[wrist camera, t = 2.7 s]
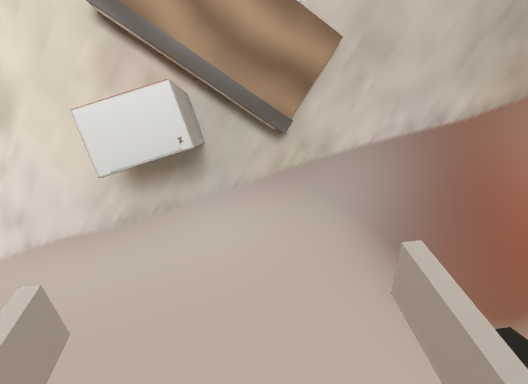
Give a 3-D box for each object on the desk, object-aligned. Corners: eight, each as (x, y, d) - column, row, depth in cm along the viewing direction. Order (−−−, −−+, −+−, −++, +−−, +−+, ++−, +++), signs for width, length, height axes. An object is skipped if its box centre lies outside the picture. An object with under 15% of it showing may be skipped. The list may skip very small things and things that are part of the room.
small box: (188, 93, 34) (171, 76, 24) (205, 143, 35) (196, 147, 25) (115, 115, 34) (66, 108, 24) (135, 165, 35) (97, 179, 25)
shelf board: (159, -100, 31) (150, -131, 27) (338, 39, 35) (351, 29, 31) (96, 12, 32) (79, -4, 28) (278, 134, 36) (283, 134, 32)
